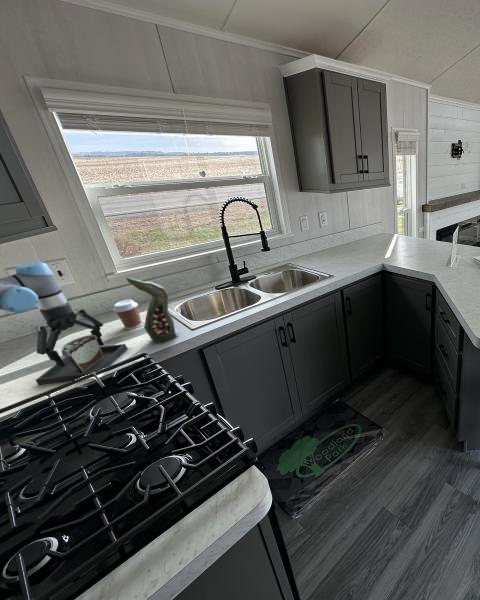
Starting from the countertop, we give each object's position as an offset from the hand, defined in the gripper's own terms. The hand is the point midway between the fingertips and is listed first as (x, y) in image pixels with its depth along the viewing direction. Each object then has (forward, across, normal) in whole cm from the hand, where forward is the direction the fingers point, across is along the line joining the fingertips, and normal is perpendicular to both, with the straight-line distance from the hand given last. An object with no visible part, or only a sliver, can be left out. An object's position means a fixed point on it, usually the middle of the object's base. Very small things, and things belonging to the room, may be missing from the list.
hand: (82, 355), depth 125 cm
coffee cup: (+5, -29, -13) cm, 32 cm away
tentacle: (+5, -24, +13) cm, 27 cm away
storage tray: (+5, 0, 0) cm, 5 cm away
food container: (+4, 0, 0) cm, 5 cm away
